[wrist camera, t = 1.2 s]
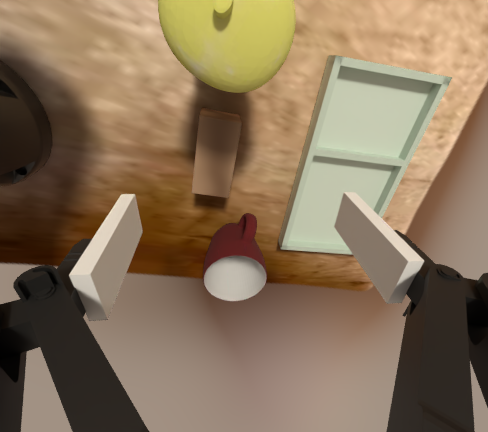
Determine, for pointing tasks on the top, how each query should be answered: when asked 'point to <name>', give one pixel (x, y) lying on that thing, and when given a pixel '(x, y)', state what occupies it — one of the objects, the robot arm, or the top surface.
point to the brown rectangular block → (215, 152)
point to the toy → (229, 39)
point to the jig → (356, 146)
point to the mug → (235, 262)
